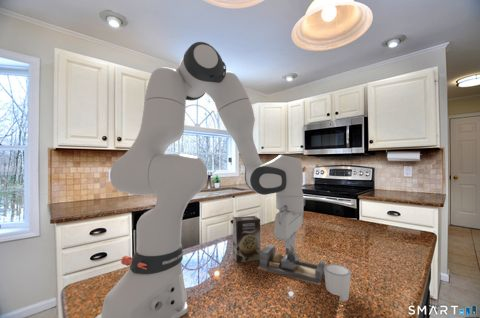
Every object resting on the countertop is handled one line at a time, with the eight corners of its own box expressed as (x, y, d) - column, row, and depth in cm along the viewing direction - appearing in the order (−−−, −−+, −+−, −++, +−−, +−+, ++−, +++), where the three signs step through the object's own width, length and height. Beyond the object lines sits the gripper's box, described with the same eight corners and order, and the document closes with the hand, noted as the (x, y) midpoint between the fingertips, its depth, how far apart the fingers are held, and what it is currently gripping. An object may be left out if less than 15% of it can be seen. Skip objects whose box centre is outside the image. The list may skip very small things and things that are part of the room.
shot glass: (343, 287, 64) (343, 263, 64) (356, 302, 57) (356, 275, 57) (320, 288, 64) (319, 263, 64) (330, 303, 57) (330, 276, 57)
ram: (293, 274, 69) (293, 237, 69) (281, 271, 71) (280, 235, 71) (299, 265, 75) (298, 231, 75) (287, 262, 77) (287, 229, 77)
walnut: (281, 269, 72) (281, 257, 72) (270, 266, 74) (270, 254, 74) (285, 264, 75) (285, 252, 76) (274, 261, 77) (274, 250, 78)
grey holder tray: (319, 290, 63) (319, 267, 63) (256, 273, 73) (256, 253, 73) (325, 273, 72) (325, 253, 72) (269, 260, 82) (269, 242, 82)
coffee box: (236, 267, 77) (236, 220, 77) (232, 259, 83) (232, 216, 83) (261, 263, 79) (260, 219, 80) (255, 256, 86) (254, 215, 86)
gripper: (289, 210, 62) (290, 259, 62) (306, 199, 80) (306, 237, 80) (268, 208, 66) (269, 254, 65) (289, 198, 83) (289, 235, 83)
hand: (290, 245), depth 73 cm, fingers closed on ram, 3 cm apart
